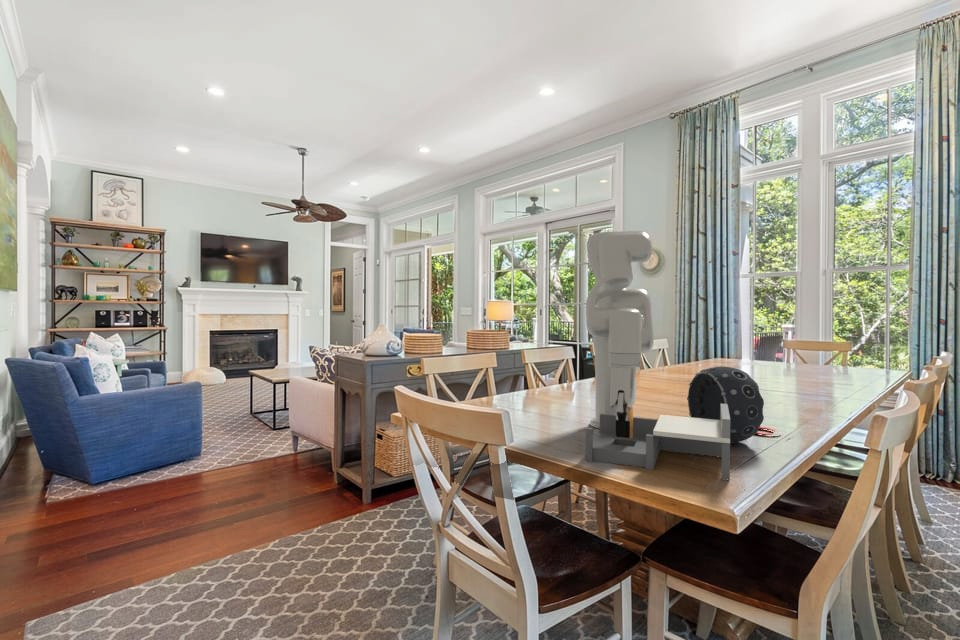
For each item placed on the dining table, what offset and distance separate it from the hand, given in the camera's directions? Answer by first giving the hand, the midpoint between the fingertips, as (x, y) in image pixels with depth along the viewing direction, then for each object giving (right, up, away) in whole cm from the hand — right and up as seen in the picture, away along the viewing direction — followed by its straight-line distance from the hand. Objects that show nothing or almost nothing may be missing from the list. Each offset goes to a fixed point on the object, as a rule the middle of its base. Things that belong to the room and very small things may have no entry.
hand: (624, 434), depth 115 cm
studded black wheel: (+30, -5, +11) cm, 32 cm away
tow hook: (+45, -5, +19) cm, 49 cm away
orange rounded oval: (0, 0, 0) cm, 0 cm away
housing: (+7, -5, -3) cm, 9 cm away
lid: (+13, +3, -7) cm, 15 cm away
